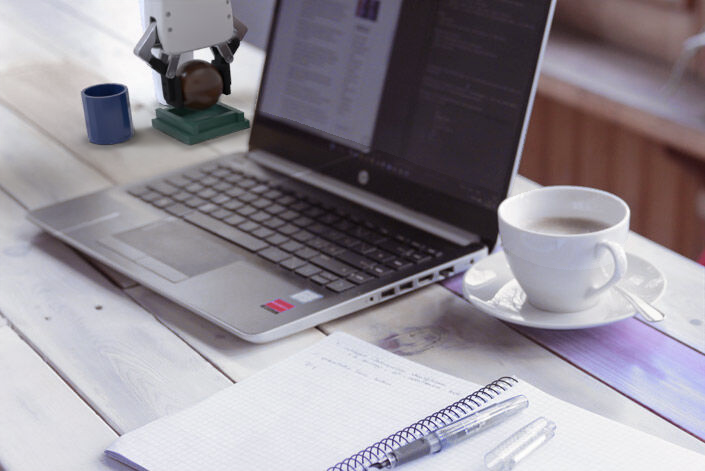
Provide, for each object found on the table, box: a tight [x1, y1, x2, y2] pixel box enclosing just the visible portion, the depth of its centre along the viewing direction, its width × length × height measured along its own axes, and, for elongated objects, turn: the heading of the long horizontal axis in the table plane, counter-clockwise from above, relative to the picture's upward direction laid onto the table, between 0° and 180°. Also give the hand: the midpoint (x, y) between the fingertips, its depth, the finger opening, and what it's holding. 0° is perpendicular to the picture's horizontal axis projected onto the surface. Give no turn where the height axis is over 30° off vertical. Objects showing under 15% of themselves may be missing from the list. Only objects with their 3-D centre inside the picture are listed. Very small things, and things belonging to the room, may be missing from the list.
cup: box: [80, 82, 135, 146], centre depth 117 cm, size 6×6×6 cm
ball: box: [176, 58, 223, 111], centre depth 119 cm, size 6×6×6 cm
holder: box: [151, 100, 251, 146], centre depth 121 cm, size 9×9×2 cm
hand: (198, 98), depth 119 cm, fingers closed on ball, 6 cm apart
